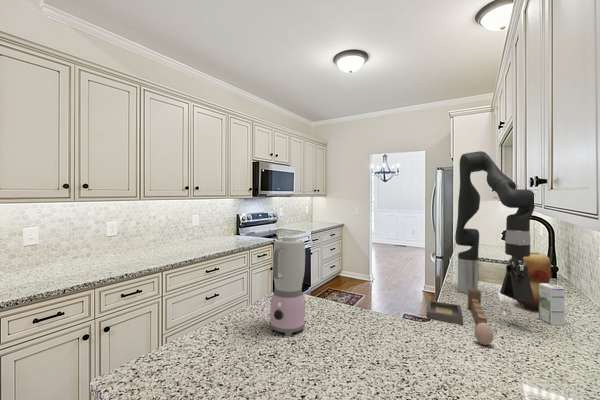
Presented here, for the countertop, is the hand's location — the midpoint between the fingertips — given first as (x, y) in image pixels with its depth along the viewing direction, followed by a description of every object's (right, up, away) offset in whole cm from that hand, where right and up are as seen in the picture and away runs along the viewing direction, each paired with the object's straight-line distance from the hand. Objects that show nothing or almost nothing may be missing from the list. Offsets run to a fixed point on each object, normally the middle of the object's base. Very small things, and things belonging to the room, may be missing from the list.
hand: (516, 288), depth 107 cm
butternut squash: (+23, -16, +21) cm, 34 cm away
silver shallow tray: (-22, -14, +10) cm, 28 cm away
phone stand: (0, -3, 0) cm, 3 cm away
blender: (-86, -12, -8) cm, 88 cm away
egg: (-22, -14, -15) cm, 30 cm away
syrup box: (+18, -15, +5) cm, 24 cm away
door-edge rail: (-11, -14, +6) cm, 19 cm away
